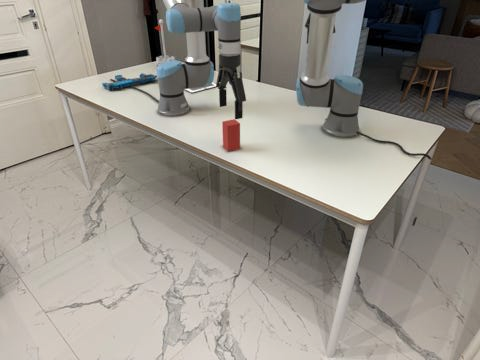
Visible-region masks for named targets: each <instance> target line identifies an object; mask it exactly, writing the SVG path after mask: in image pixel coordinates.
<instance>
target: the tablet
mask: <svg viewBox="0 0 480 360" xmlns="http://www.w3.org/2000/svg"><path fill="white" fill-rule="evenodd" d="M213 88H218V86H216V82H214V81H213V82H212V84H211V85H210V86H205V87H198V88H189V89H184V91H185V92H188V93H191V94H195V93H197V92H201V91H206V90H210V89H213Z"/></svg>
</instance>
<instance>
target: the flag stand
mask: <svg viewBox="0 0 480 360" xmlns="http://www.w3.org/2000/svg"><path fill="white" fill-rule="evenodd" d="M154 29H155V30H157V31H159V32H161V33H160V34H161V40H162V49H163V55H159V56H156V58H155V60H156V63H157V64H158V66H159V65H160V64H162V63H164V62H168V61H176V57H175V56H174V55H171V56H170V55H167V50H166V41H165V32H164V20H163V19H162V18H161V19H159V20H158V25H157V26H155V27H154Z"/></svg>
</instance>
